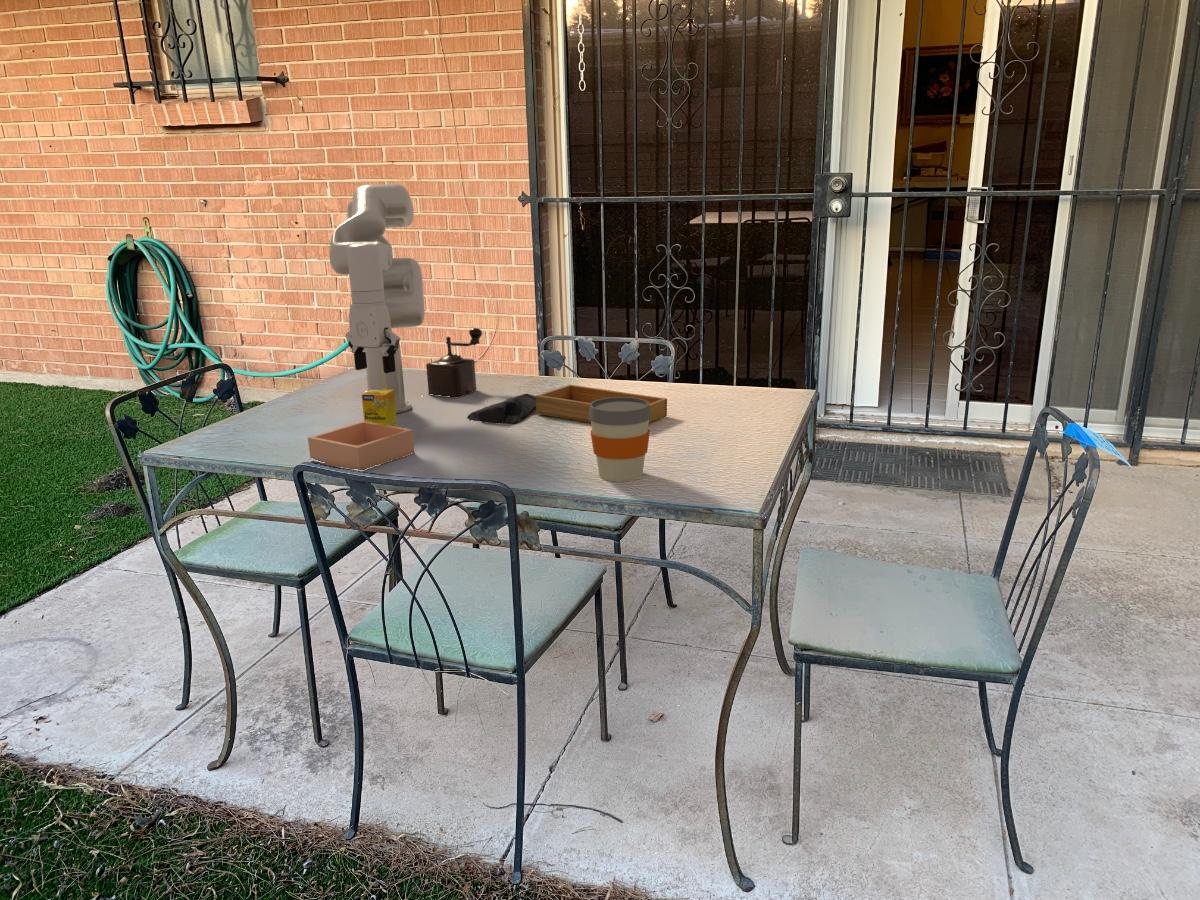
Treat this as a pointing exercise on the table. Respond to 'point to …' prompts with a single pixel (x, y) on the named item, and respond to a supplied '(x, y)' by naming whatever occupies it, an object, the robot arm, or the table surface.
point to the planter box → (361, 445)
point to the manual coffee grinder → (453, 371)
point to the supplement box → (379, 407)
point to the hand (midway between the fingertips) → (375, 370)
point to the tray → (588, 402)
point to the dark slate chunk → (506, 410)
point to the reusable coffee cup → (620, 436)
